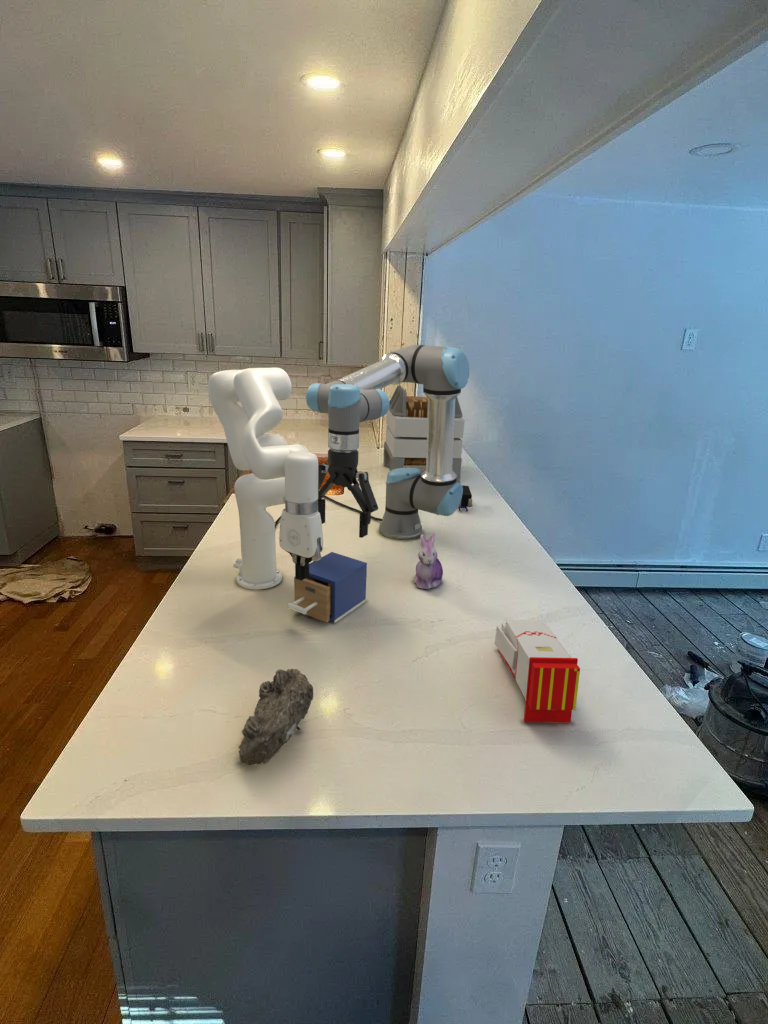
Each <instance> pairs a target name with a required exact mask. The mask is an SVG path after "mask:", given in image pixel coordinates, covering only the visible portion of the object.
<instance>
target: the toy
mask: <svg viewBox="0 0 768 1024" xmlns="http://www.w3.org/2000/svg"><path fill="white" fill-rule="evenodd" d="M494 645H495V647H496V648H497V651H498V653H499V654H500V656H501V658H502V660H503V661H504V663H505V665H506V666H507V668H508V670H509V671H510V673H511V675H512V676H513V678H514V679H515V682H516V684H517V686H518V688H519V690H520V692H521V693H522V695H523V697H524V699H525V701H524V703H525V705H524V712H523V713H524V714H523V722H524V723H550V724H551V723H552V724H553V723H554V724H556V723H557V724H558V723H559V724H561V723H562V724H571V723H572V717H573V716H572V715H573V711H576V708H577V699H578V692H579V682H580V674H581V667H580V666H579V664H578V663H579V662H578V661H579V659H578V658H577V657H572V656H571V655H570V653H569V652H568V651H567V649H566V648H565V647H564V645H563V644H562V643H561V641H560V639H558V637H556V635H555V634H554V632H553V631H552V630H551V628H550V626H549V625H547V623H546V622H545V621H544V620H517V619H516V620H513V619H512V620H511V619H510V620H509V619H506V620H505V622H501V627H500V626H499V625H497V626H496V628H495V637H494Z"/></svg>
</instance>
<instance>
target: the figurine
mask: <svg viewBox="0 0 768 1024" xmlns="http://www.w3.org/2000/svg"><path fill="white" fill-rule="evenodd" d="M436 536H437V535H436V533H435V532H433V533H431V534H430V537H429V539H427V538H426V536H425V535H424V534H423V533H422V534H421V536H420V537H419V538H420V540H419V541H420V548H419V550H418V553H417V557H418V560H419V561H418V562H416V565H415V575H414V580H413V581H414V583H415V585H416V587H417V588H418V589H419V588H420V589H423V590H430V589H432V588H437V587H438V586H439V585H440V584H441V583H442V580H443V575H444V569H443V565H442V563H441V560H440V559H439V558H438V552H437V549H436V548H435V542H436Z"/></svg>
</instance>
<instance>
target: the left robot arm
mask: <svg viewBox="0 0 768 1024" xmlns="http://www.w3.org/2000/svg"><path fill="white" fill-rule="evenodd" d="M292 387H293V386H292V382H291V378H290V375H289V374H288V373H287V371H285V370H284V368H281V367H249V368H245V369H228V370H227V369H226V370H221V371H216V372H215V373H212V374H211V375H210V376H209V378H208V381H207V391H208V397H209V401H210V404H211V406H212V409H213V411H214V412H215V415H216V416H217V418H218V420H219V421H220V423H221V425H222V428H223V433H224V435H225V439H226V443H227V446H228V447H227V448H228V451H229V455H230V459H231V461H232V463H233V466H234V468H236V469H237V470H239V471H243V472H244V471H251V473H246V474H243V475H240V476H239V477H238V478H237V479H236V481H235V482H234V487H233V488H234V497H235V500H236V504H237V511H238V519H239V534H240V535H239V536H240V555H241V556H240V557H241V558H240V557H237V558H236V560H235V562H234V563H233V568H234V569H237V570H239V573H238V574H237V575H236V583H237V584H238V586H240V587H242V588H244V589H248V590H266V589H270V588H273V587H275V586H277V585H279V584H280V583H281V582H282V580H283V576H282V572H281V571H279V570H278V569H277V549H276V548H277V547H276V546H277V545H276V544H277V543H276V528H275V524H276V523H275V522H276V521H275V519H274V517H273V516H272V515H271V514H270V512H269V511H267V510H266V509H267V508H269V507H272V506H273V507H274V506H280V505H284V508H283V509H282V512H281V515H280V516H281V519H280V520H279V532H278V533H279V534H278V535H279V537H278V540H279V541H278V543H279V547H280V548H281V550H283V551H285V552H286V553H288V554H289V555H290V557H291V560H292V563H293V564H294V575H295V576H294V577H295V579H299V580H300V581H302V580H303V579H305V578H307V577H308V576H309V564H310V563H312V562H313V561H319V560H320V559H321V557H322V554H321V553H322V552H323V549H324V532H323V531H324V530H323V524H322V522H321V516H320V513H319V512H318V466H319V458H318V456H317V455H316V454H315V453H313V452H310V450H309V449H308V448H307V447H306V446H305V445H303V444H301V443H291V444H289V443H288V442H287V440H286V439H285V437H283V436H282V435H281V434H279V433H269V431H271V430H273V429H274V428H276V427H277V426H278V425H279V424H280V423H281V422H282V420H283V418H284V417H283V416H284V412H283V409H282V407H281V404H280V403H279V401H285V400H287V399H289V397H290V396H291V393H292V389H293V388H292ZM238 402H239V403H240V404H241V405H240V404H238Z"/></svg>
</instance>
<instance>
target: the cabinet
mask: <svg viewBox="0 0 768 1024" xmlns="http://www.w3.org/2000/svg"><path fill="white" fill-rule="evenodd" d="M367 573H368V562H366V561H362V560H359V559H356V558H354V557H353V558H352V557H349V556H346V555H344V554H339V553H336V552H334V551H330V552H329V553H327V554H326V555H323V556H321V559H320V560H319V561H311V562H310V563H309V577H312V578H315V579H317V580H320V581H323V582H326V583H329V584H332V614H331V615H330V621H329V622H332V623H333V624H335V623H337V622H338V621H340V620H341V619H343V618H344V617H345V616H347V615H349V614H350V613H351V612H353V611H354V610H356V609H357V608H359V607H360V606H361V605H363V604H364V603H366V602H367Z"/></svg>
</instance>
